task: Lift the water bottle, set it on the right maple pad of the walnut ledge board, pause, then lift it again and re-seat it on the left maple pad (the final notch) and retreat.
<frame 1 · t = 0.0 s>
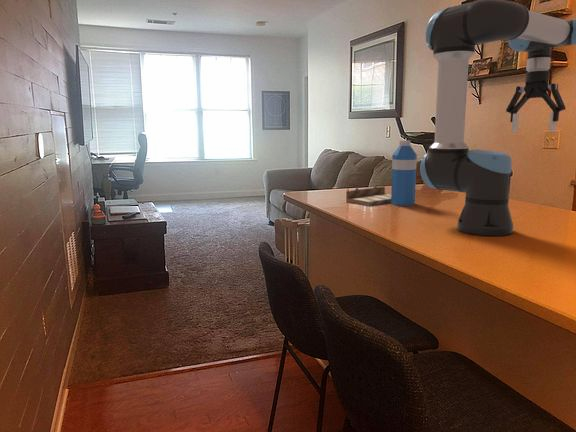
hand: (532, 131, 167), 28 cm above the table, fingers open, 13 cm apart
ledge board: (376, 201, 189), on the table
water bottle: (402, 204, 182), on the table
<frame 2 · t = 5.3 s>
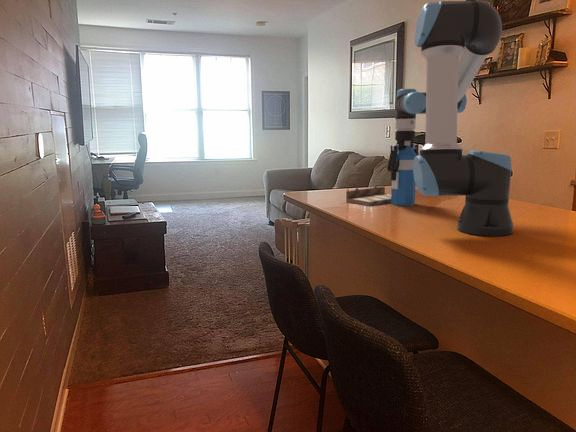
hand: (403, 187, 181), 7 cm above the table, fingers closed on water bottle, 9 cm apart
water bottle: (402, 204, 182), on the table, touching gripper
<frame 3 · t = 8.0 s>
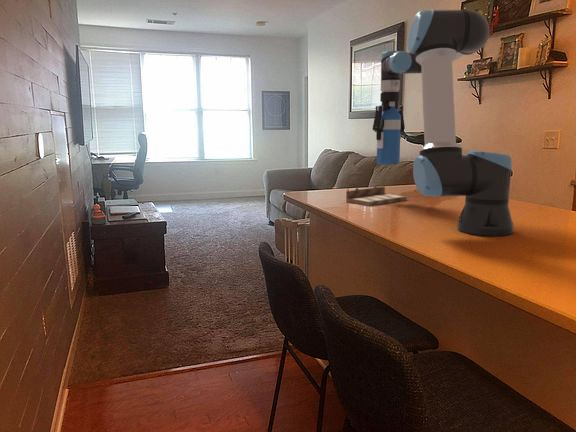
hand: (388, 147, 188), 22 cm above the table, fingers closed on water bottle, 9 cm apart
water bottle: (388, 164, 189), point 15 cm above the table, touching gripper
when the fingers open (9 cm above the table, at t = 10.7 s): water bottle stays where it is, resting on ledge board.
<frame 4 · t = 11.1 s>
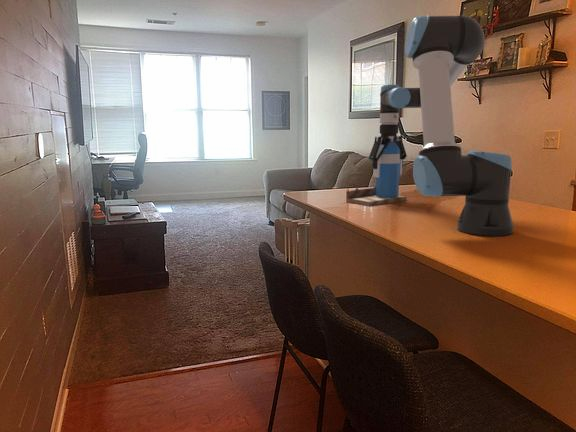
hand: (387, 175, 190), 10 cm above the table, fingers open, 13 cm apart
water bottle: (387, 196, 192), point 1 cm above the table, touching ledge board
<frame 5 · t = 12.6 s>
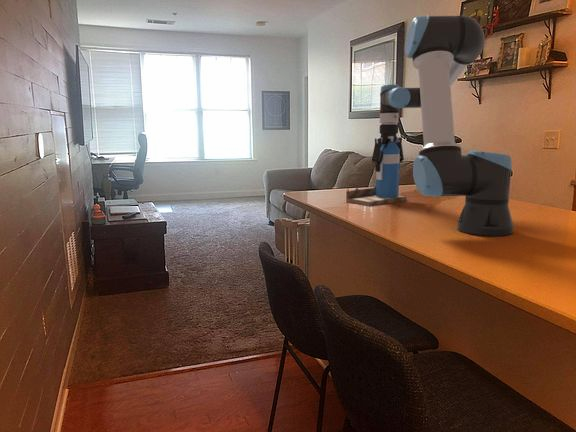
hand: (387, 178, 190), 9 cm above the table, fingers closed on water bottle, 9 cm apart
water bottle: (387, 196, 192), point 1 cm above the table, touching gripper, ledge board
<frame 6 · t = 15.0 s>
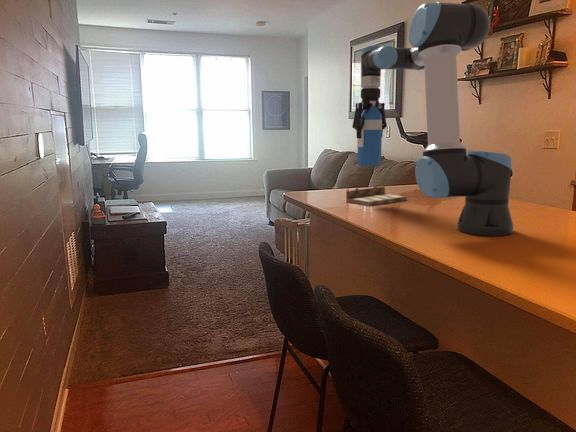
hand: (369, 146, 181), 23 cm above the table, fingers closed on water bottle, 9 cm apart
water bottle: (369, 165, 183), point 15 cm above the table, touching gripper
when the fingers open (9 cm above the table, at t = 17.9 s): water bottle moves 2 cm, point 3 cm above the table.
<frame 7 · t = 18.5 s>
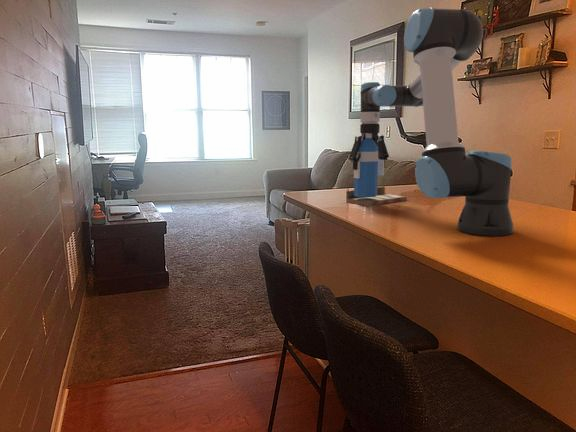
hand: (368, 176, 184), 11 cm above the table, fingers open, 13 cm apart
water bottle: (365, 196, 184), point 3 cm above the table, touching gripper
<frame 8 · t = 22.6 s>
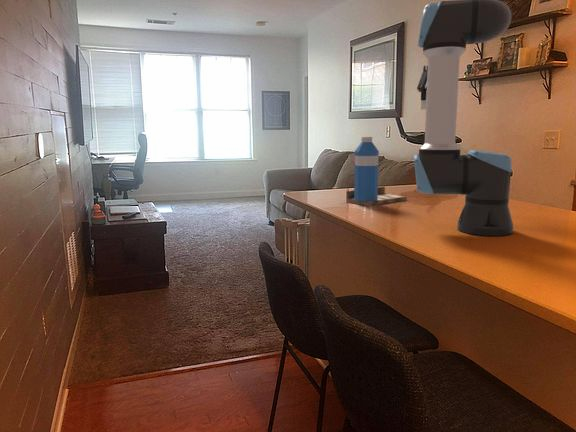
hand: (435, 109, 178), 37 cm above the table, fingers open, 13 cm apart
water bottle: (365, 200, 184), point 1 cm above the table, touching ledge board
at the end: water bottle inside the target area on the ledge board (2.3 cm from its centre), point 1.4 cm above the ledge board's base; water bottle tilted 0°; the gripper is holding nothing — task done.
